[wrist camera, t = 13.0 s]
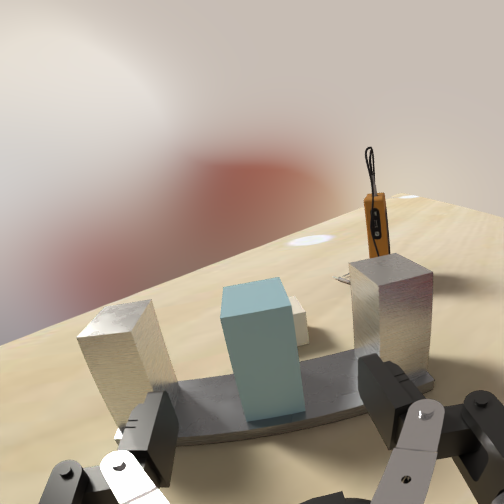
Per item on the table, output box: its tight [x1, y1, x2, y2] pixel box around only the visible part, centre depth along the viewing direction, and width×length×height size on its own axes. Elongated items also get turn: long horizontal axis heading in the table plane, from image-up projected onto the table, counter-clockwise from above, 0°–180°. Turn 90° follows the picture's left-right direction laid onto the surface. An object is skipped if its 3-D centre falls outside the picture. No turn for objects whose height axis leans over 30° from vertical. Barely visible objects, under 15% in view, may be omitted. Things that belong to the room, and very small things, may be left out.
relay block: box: [288, 296, 309, 346], centre depth 35 cm, size 5×5×4 cm
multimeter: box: [332, 147, 390, 283], centre depth 45 cm, size 15×10×20 cm
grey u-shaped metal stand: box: [76, 253, 435, 446], centre depth 24 cm, size 26×8×10 cm, turn 93°
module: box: [220, 277, 305, 422], centre depth 24 cm, size 4×6×9 cm
